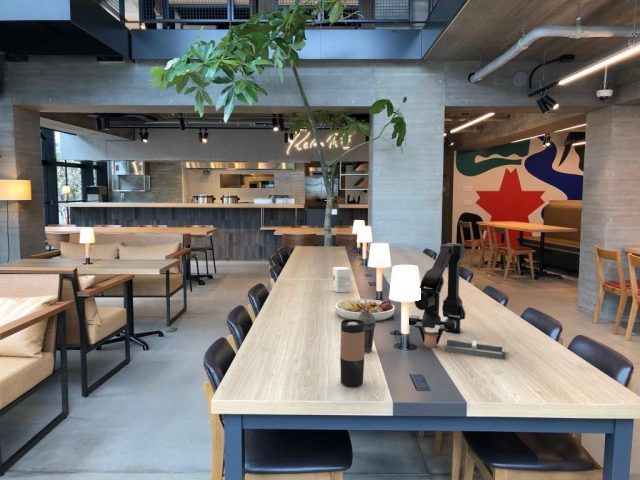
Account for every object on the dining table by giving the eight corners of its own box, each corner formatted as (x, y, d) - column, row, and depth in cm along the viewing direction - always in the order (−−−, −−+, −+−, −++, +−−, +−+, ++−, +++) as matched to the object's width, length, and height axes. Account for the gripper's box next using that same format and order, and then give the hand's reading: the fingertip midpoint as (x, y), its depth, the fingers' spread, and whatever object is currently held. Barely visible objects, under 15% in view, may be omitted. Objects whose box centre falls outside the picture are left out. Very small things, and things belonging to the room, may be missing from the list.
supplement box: (332, 290, 290) (332, 267, 288) (345, 289, 292) (345, 266, 291) (337, 293, 281) (337, 269, 280) (350, 292, 284) (350, 268, 282)
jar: (425, 342, 186) (425, 329, 185) (438, 344, 184) (438, 331, 183) (422, 346, 181) (423, 333, 180) (436, 348, 179) (436, 334, 178)
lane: (447, 344, 184) (447, 336, 184) (505, 351, 176) (505, 344, 175) (444, 351, 176) (444, 343, 175) (505, 359, 167) (505, 351, 167)
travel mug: (362, 378, 149) (363, 318, 147) (365, 387, 141) (366, 325, 139) (339, 378, 149) (339, 318, 147) (340, 388, 141) (341, 325, 139)
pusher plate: (472, 347, 179) (473, 340, 179) (476, 348, 178) (477, 341, 178) (471, 352, 173) (471, 345, 173) (475, 353, 173) (475, 345, 172)
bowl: (346, 325, 211) (346, 309, 211) (328, 310, 240) (328, 295, 239) (404, 321, 219) (404, 305, 219) (380, 306, 248) (380, 292, 247)
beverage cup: (360, 354, 171) (361, 303, 169) (353, 348, 178) (354, 298, 176) (378, 353, 173) (379, 302, 171) (371, 347, 180) (372, 297, 178)
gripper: (404, 307, 177) (403, 345, 179) (453, 312, 170) (452, 352, 171) (410, 301, 187) (409, 337, 189) (456, 305, 180) (455, 344, 181)
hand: (430, 343), depth 182 cm, fingers closed on jar, 5 cm apart
